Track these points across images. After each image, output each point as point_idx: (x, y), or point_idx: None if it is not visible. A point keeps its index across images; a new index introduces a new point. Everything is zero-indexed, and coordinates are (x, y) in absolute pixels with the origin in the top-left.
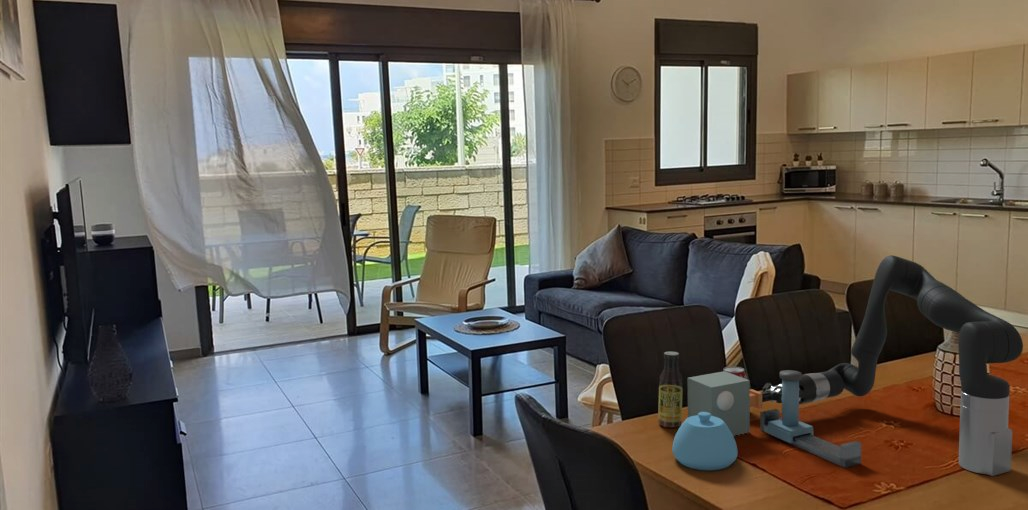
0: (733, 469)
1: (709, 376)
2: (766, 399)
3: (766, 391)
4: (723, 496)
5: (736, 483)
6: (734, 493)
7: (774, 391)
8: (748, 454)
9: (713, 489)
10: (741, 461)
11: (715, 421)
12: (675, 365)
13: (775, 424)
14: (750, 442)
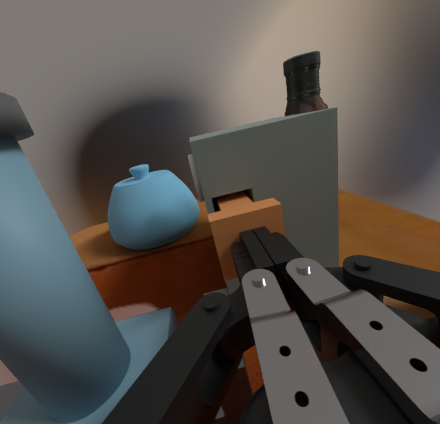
0: (113, 247)
1: (273, 119)
2: (238, 276)
3: (290, 263)
4: (82, 233)
5: (86, 244)
6: (75, 240)
7: (266, 295)
8: (132, 271)
9: (99, 229)
10: (122, 258)
11: (129, 182)
12: (288, 88)
13: (136, 318)
14: (175, 289)
